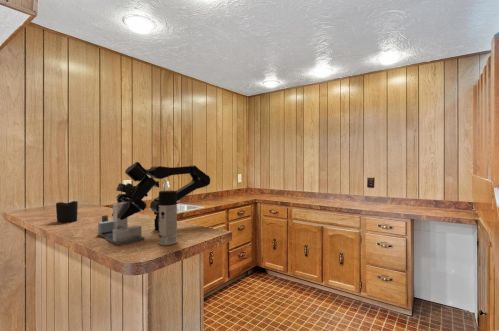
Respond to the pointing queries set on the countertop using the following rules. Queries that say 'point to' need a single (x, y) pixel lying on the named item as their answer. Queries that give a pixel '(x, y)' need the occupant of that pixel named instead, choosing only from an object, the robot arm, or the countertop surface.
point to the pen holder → (66, 212)
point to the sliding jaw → (105, 225)
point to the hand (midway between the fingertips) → (116, 217)
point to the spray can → (167, 217)
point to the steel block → (119, 215)
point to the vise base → (110, 238)
